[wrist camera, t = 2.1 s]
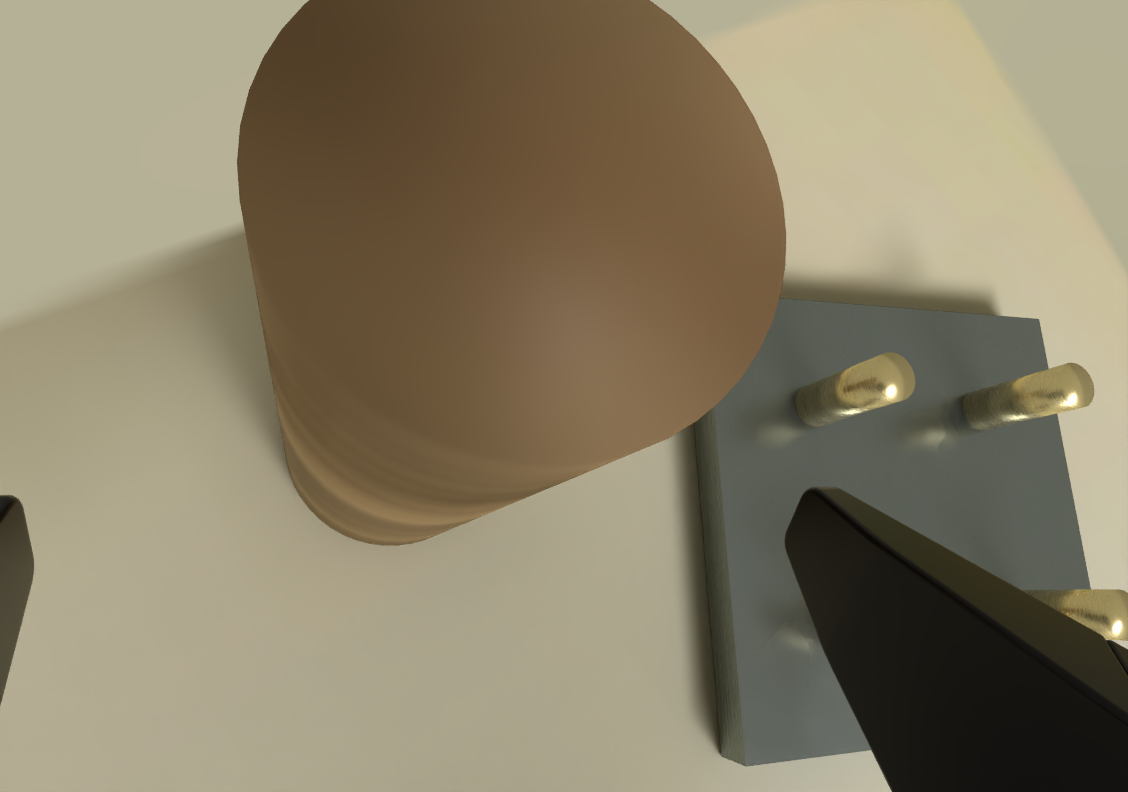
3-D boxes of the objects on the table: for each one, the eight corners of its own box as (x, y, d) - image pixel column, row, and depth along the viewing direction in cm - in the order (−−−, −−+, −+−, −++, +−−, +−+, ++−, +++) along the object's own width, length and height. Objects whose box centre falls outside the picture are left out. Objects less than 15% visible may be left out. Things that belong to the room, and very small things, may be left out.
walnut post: (455, 573, 19) (722, 547, 7) (249, 504, 18) (120, 325, 6) (519, 386, 20) (826, 91, 8) (333, 312, 19) (373, -148, 7)
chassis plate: (1076, 711, 23) (1240, 737, 19) (721, 756, 20) (829, 799, 16) (1007, 330, 26) (1136, 282, 22) (684, 307, 22) (768, 244, 18)
